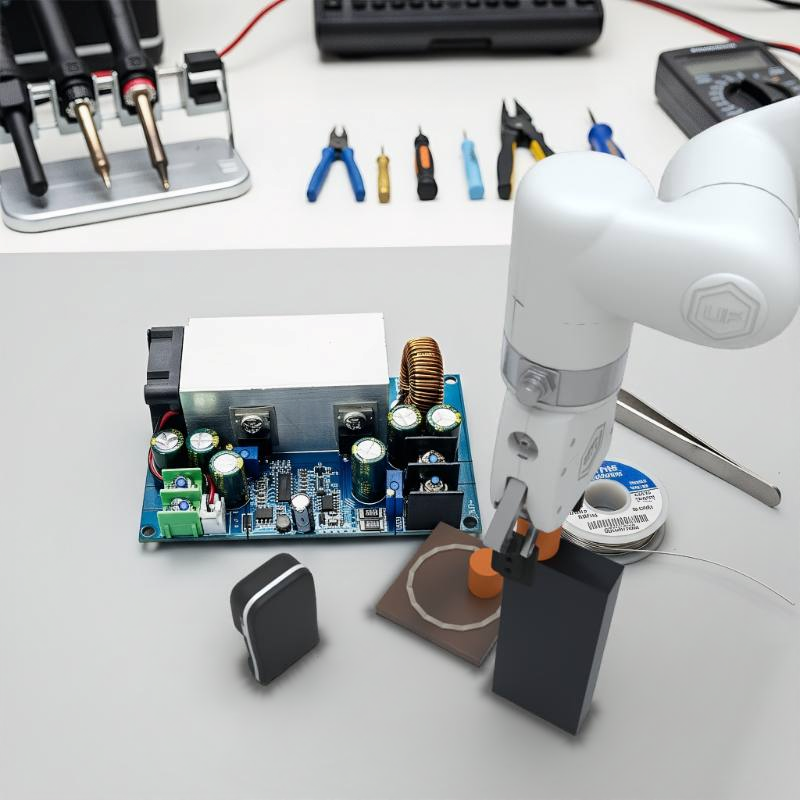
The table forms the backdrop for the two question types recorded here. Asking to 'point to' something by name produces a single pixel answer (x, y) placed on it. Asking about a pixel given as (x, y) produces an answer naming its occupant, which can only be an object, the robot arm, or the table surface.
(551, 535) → the eye dot
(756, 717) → the table surface
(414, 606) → the board
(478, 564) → the eye dot
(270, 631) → the battery charger
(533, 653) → the dot stand
